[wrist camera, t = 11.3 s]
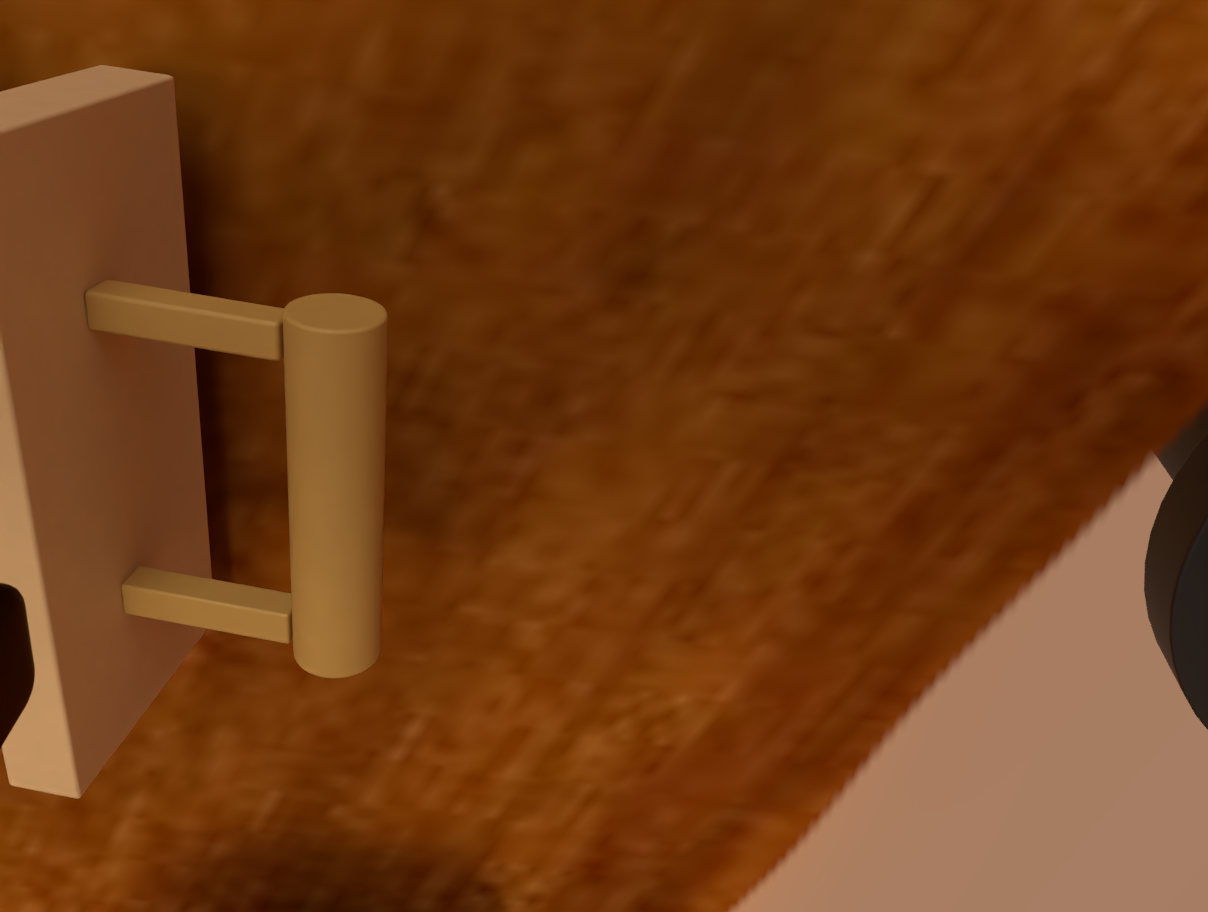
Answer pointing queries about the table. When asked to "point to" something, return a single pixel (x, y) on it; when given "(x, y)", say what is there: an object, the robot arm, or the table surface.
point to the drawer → (154, 430)
